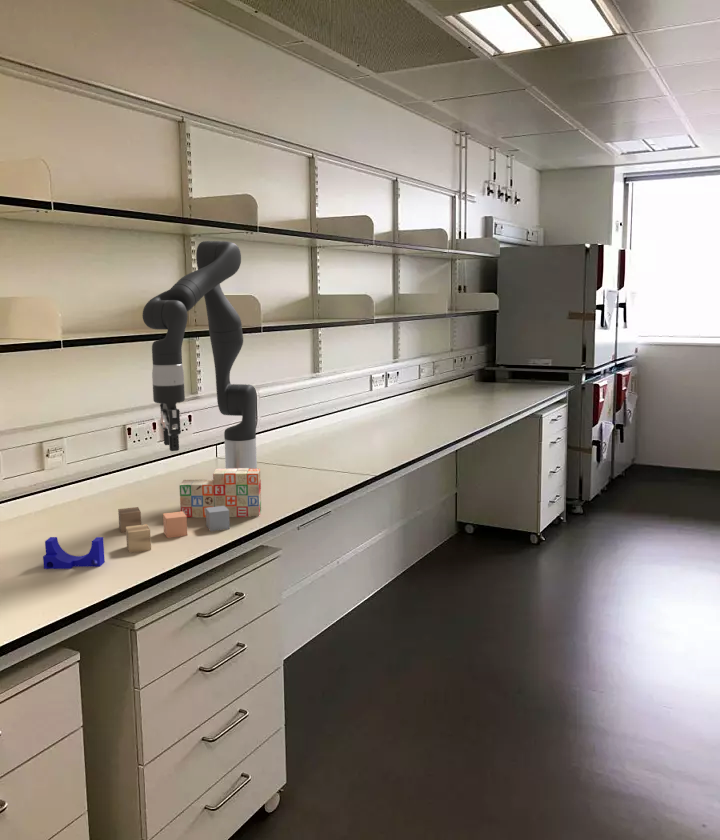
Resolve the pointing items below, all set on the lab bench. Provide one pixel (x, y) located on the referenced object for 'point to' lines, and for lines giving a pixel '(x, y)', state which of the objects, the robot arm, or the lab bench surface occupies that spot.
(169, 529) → the terracotta block
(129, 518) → the tan block
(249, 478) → the stack of blocks
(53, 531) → the lab bench surface
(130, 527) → the oak block
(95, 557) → the blue cradle bracket
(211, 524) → the gray block
